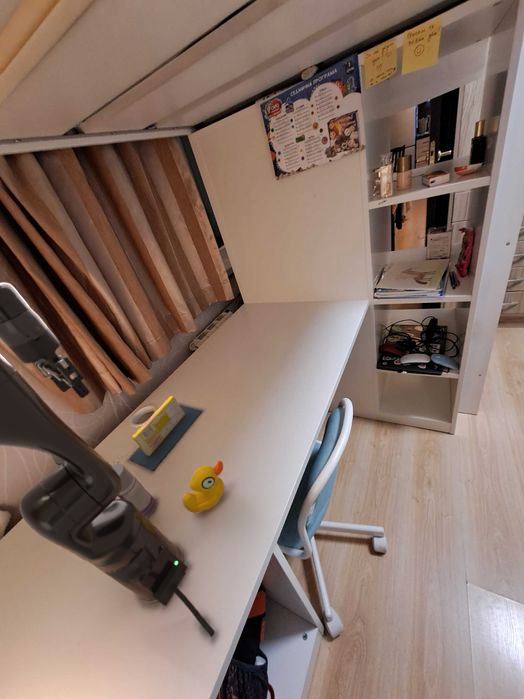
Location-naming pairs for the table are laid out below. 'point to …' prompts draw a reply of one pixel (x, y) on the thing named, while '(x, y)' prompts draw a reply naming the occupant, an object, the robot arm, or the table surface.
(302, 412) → the table surface
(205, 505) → the duckling
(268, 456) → the table surface
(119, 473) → the container
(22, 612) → the table surface
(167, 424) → the candy box
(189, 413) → the mat
